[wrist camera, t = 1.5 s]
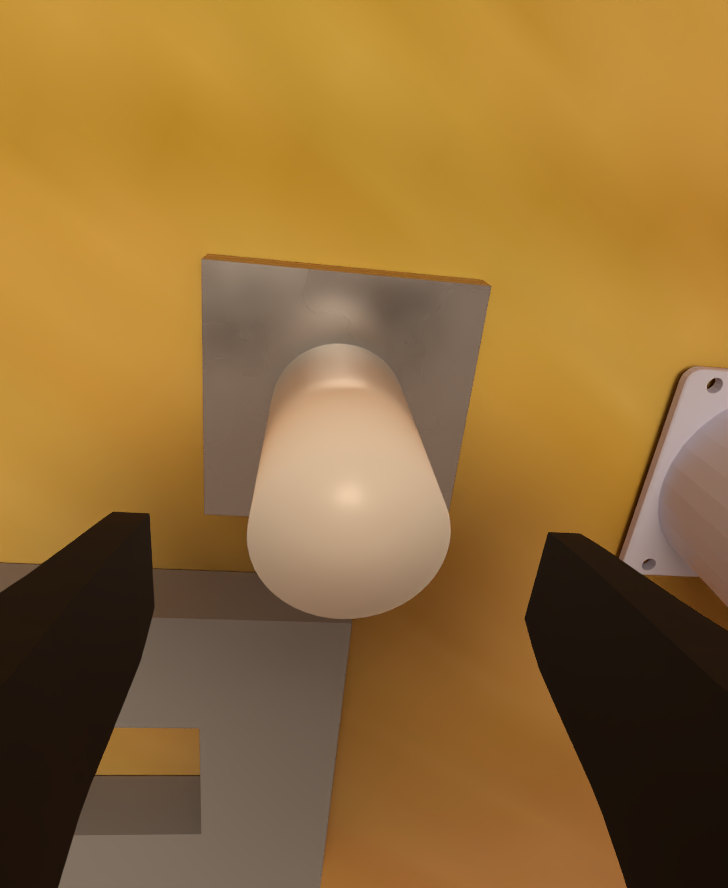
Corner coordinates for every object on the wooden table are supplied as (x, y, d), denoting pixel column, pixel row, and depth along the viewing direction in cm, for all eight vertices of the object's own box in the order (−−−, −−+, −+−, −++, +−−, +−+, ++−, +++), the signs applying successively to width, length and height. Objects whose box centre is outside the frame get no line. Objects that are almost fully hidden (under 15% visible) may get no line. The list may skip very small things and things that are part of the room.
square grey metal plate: (482, 279, 18) (491, 285, 17) (440, 510, 21) (445, 525, 20) (207, 253, 17) (201, 258, 16) (209, 498, 20) (204, 514, 19)
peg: (411, 349, 17) (466, 454, 11) (394, 470, 19) (434, 621, 13) (273, 338, 17) (248, 441, 11) (269, 462, 19) (244, 616, 12)
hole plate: (348, 576, 22) (352, 627, 19) (317, 845, 29) (318, 909, 26) (-121, 558, 20) (-181, 612, 18) (-37, 849, 27) (-72, 918, 24)
